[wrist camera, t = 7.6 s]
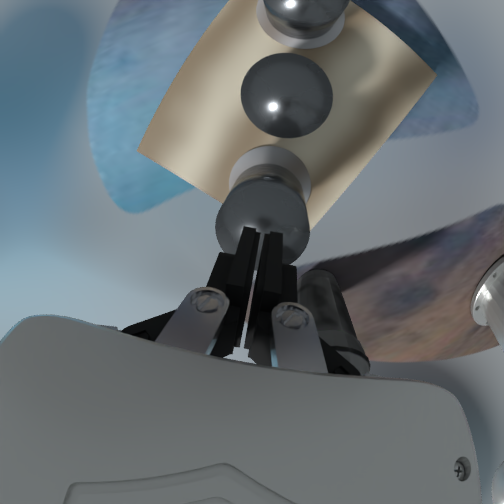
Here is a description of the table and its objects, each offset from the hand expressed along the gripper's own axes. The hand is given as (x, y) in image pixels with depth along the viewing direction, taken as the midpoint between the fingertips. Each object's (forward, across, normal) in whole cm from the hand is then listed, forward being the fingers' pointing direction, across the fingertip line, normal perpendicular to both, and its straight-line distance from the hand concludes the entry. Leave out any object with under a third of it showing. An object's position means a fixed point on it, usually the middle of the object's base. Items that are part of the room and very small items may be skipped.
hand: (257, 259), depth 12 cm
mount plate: (+14, 0, -7) cm, 16 cm away
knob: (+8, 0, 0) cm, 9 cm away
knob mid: (+11, 0, -7) cm, 13 cm away
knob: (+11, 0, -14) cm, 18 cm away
